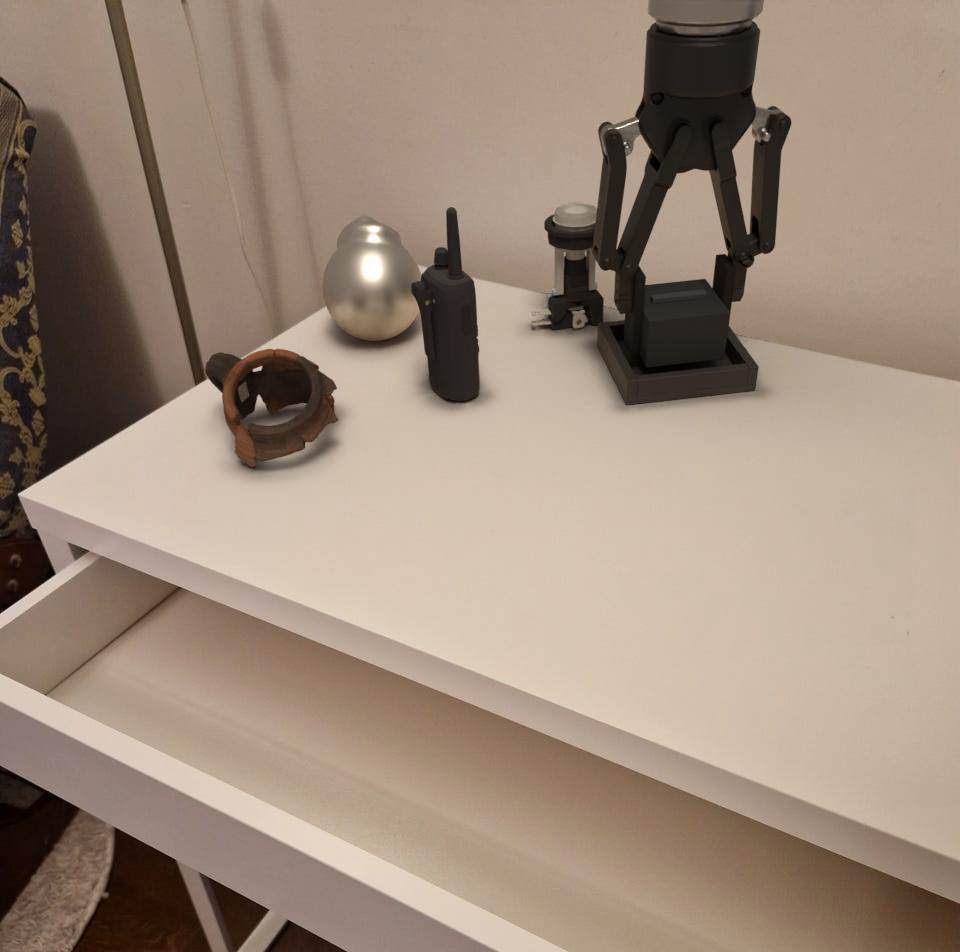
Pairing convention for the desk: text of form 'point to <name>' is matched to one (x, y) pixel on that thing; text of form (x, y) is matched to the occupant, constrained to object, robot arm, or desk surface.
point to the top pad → (683, 324)
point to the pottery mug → (272, 400)
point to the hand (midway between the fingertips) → (674, 342)
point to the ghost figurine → (371, 281)
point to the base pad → (674, 370)
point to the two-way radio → (449, 320)
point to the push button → (572, 269)
